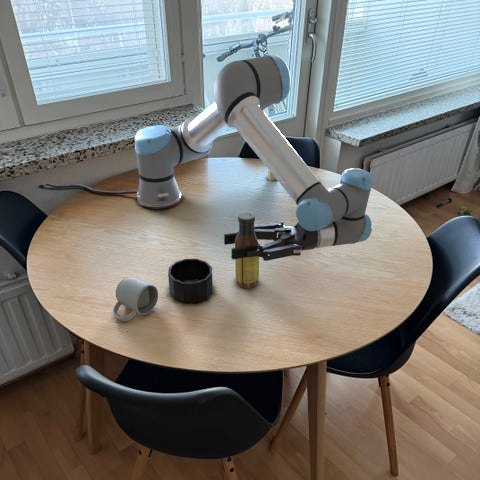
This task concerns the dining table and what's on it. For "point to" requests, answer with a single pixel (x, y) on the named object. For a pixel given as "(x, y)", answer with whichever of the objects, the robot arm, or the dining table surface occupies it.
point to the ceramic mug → (135, 297)
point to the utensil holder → (190, 290)
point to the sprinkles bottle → (270, 176)
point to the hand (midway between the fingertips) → (228, 246)
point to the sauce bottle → (246, 266)
